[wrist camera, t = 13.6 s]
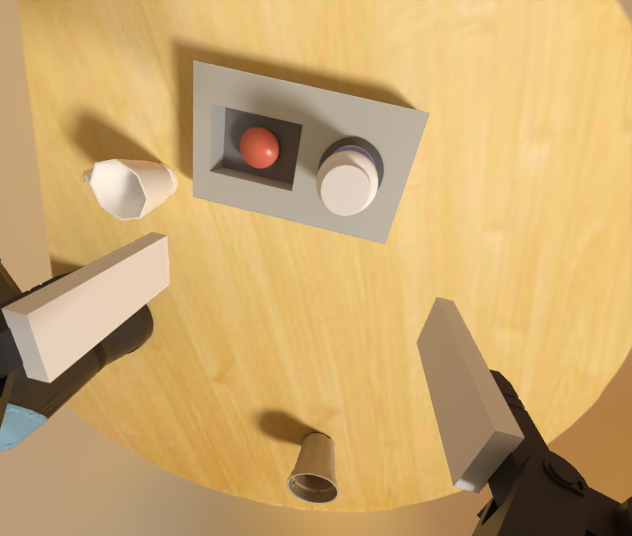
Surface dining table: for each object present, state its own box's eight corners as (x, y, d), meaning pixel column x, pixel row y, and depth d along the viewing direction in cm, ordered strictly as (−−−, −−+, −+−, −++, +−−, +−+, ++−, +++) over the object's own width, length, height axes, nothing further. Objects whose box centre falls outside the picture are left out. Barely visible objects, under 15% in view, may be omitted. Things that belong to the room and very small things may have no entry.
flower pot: (351, 451, 59) (348, 500, 51) (312, 460, 62) (305, 507, 55) (326, 422, 56) (320, 469, 48) (288, 433, 60) (276, 478, 52)
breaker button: (243, 161, 36) (238, 163, 35) (247, 123, 34) (241, 123, 33) (277, 170, 36) (274, 172, 34) (283, 131, 34) (279, 131, 32)
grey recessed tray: (208, 190, 39) (191, 197, 35) (211, 66, 33) (191, 59, 29) (383, 233, 38) (385, 245, 34) (422, 114, 32) (430, 112, 28)
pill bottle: (323, 146, 31) (307, 155, 22) (376, 143, 30) (380, 151, 21) (326, 198, 33) (312, 225, 24) (375, 197, 32) (378, 223, 23)
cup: (187, 210, 41) (149, 228, 34) (120, 192, 41) (68, 206, 34) (188, 159, 38) (146, 167, 31) (115, 139, 38) (57, 143, 31)
